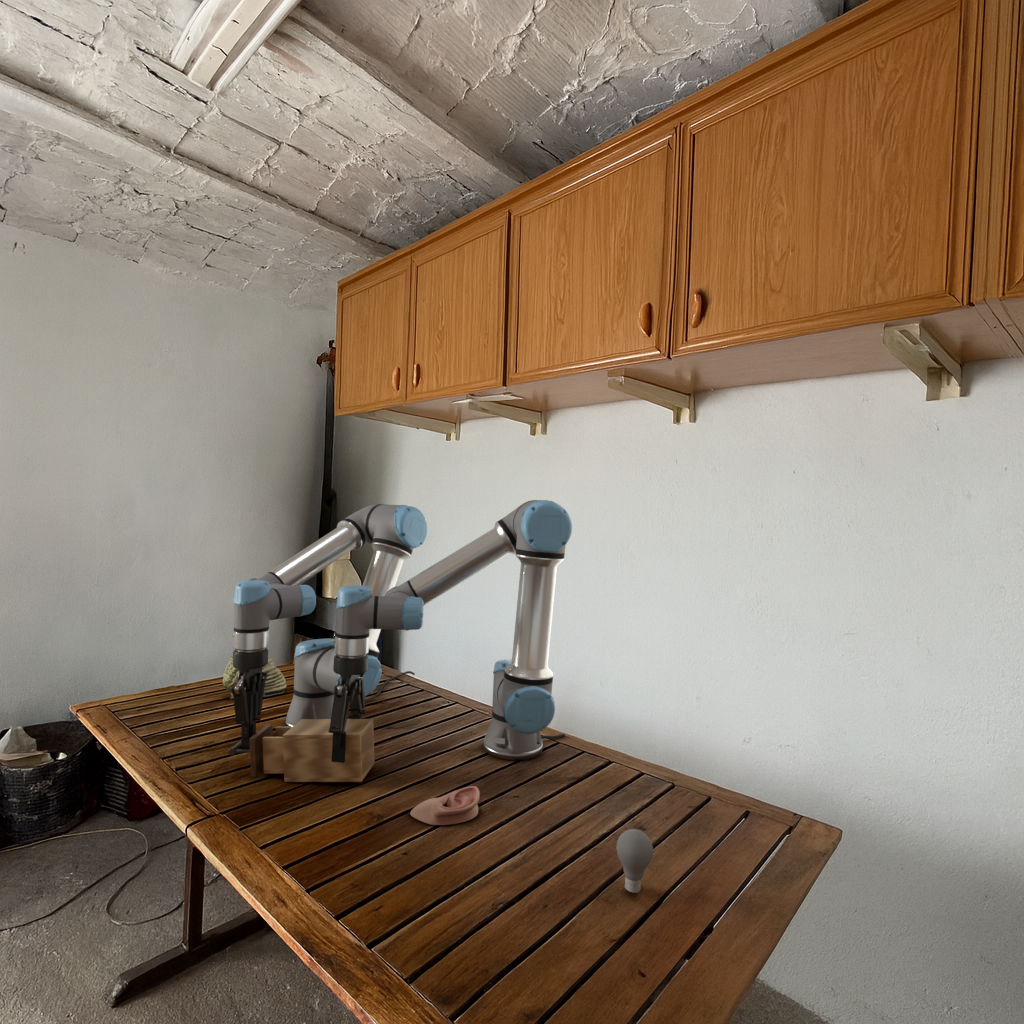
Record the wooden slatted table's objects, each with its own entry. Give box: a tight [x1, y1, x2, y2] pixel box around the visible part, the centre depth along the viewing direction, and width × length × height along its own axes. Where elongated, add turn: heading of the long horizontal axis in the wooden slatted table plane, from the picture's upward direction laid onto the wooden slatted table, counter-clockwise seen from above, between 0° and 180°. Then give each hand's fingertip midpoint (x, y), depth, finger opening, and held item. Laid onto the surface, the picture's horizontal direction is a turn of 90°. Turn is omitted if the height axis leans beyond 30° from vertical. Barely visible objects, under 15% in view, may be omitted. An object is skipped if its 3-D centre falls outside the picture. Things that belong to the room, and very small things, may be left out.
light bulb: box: [615, 828, 654, 894], centre depth 106 cm, size 6×6×10 cm
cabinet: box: [283, 718, 376, 783], centre depth 144 cm, size 17×10×10 cm, turn 86°
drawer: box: [227, 723, 293, 777], centre depth 145 cm, size 22×9×9 cm, turn 86°
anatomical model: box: [409, 785, 481, 826], centre depth 129 cm, size 13×4×12 cm
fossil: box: [222, 652, 288, 699], centre depth 198 cm, size 9×18×15 cm, turn 132°
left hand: (248, 750), depth 145 cm, fingers closed
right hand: (346, 751), depth 144 cm, fingers closed on cabinet, 10 cm apart
